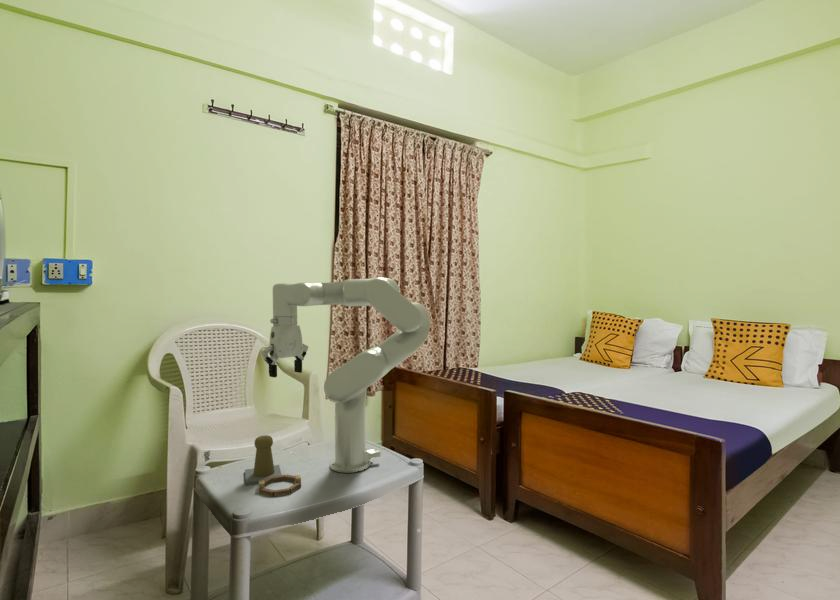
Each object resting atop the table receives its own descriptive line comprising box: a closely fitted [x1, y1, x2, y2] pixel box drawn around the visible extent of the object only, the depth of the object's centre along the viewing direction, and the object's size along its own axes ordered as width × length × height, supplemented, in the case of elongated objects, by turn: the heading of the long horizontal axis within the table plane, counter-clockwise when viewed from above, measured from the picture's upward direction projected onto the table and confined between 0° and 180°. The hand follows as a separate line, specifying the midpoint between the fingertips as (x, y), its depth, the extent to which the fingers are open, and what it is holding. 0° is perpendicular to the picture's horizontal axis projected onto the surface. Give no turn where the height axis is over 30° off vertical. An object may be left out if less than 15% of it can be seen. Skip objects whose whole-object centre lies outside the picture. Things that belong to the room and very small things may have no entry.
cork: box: [253, 435, 275, 477], centre depth 137 cm, size 6×6×11 cm
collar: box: [258, 474, 302, 498], centre depth 129 cm, size 11×11×2 cm
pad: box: [244, 464, 283, 486], centre depth 137 cm, size 10×10×1 cm
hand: (286, 374), depth 148 cm, fingers open, 9 cm apart
